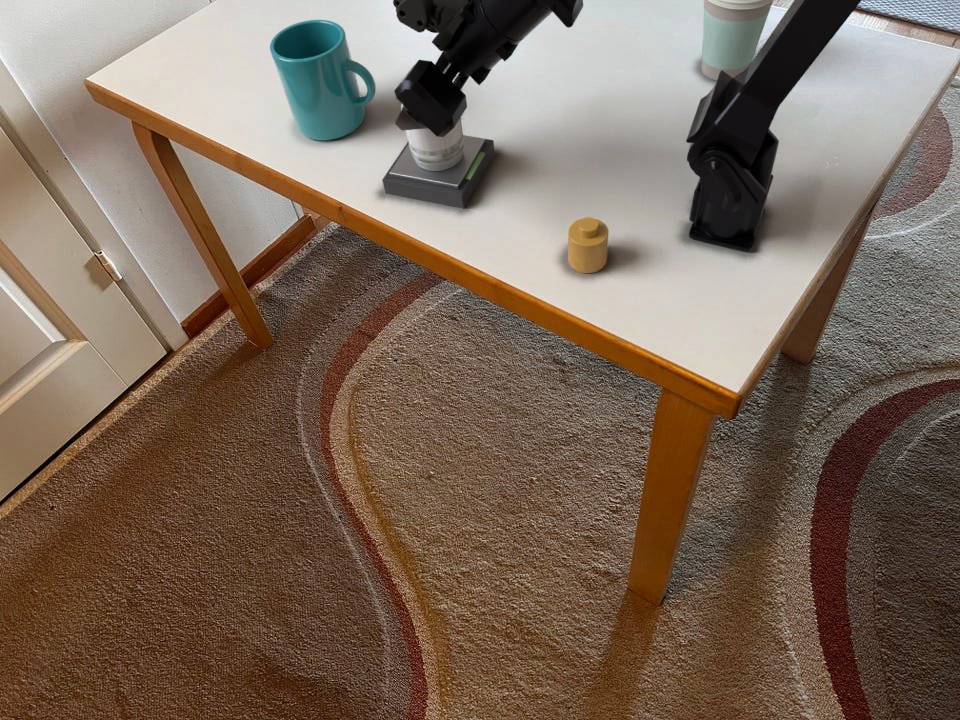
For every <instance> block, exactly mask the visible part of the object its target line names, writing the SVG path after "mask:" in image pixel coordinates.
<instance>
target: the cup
mask: <svg viewBox="0 0 960 720" xmlns="http://www.w3.org/2000/svg"><path fill="white" fill-rule="evenodd" d="M269 52H270V55H271V57H272V60H273V63H274V66H275V69H276V72H277V74H278V77H279V81H280V83H281V86H282V88H283V92H284V94H285V98H286V100H287V103H288V105H289V108H290V111H291V114H292V117H293V120H294V123H295V126H296V129H298V131H299V132H300V133H301V134H302V135H303V136H305V137H306V138H309V139H311V140H316V141H332V140H337V139H340V138H343V137H345V136H347V135H350V134H351V133H352V132H353V133H354V131H356V129H358V128H359V126H360V125H361V124H362V123H363V121H364V119H365V115H366V110H365V109H366V108H365V106H367V105H369V104H370V103H371V102H372V101H373V99H374V98H375V96H376V91H377V85H376V81H375V78H374V76H373V74H372V73H371V71H369V69H368V68H367V67H365V66H364V65H363V64H361V63H359V62H358V61H355V60H353V58H352V53H351V50H350V46H349V42H348V39H347V35H346V32H345V30H344V27H342V26H341V25H340V24H339V23H337V22H335V21H331V20H327V19H309V20H304V21H299V22H295V23H293V24H291V25H289V26H287V27H285V28H283V29H281V30H280V31H278V33H276V34H275V35H274V37H273V38H272V39H271V41H270V43H269ZM358 76H359V77H360V78H361V79H362V80H363V82H364V83H365V87H366V94H364V95H363V96H362V93H361V90H360V86H359V82H358V79H357V77H358Z"/></svg>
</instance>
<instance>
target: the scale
mask: <svg viewBox="0 0 960 720" xmlns="http://www.w3.org/2000/svg"><path fill="white" fill-rule="evenodd" d="M463 136H464V149H463V155H462V158H461V160H460V161H459V162H458V164H456V165H454V166H453V167H451V168H449V169H446V170H442V171H429V170H425V169H423V168H421V167H419V166H418V165H417V163H416V162H415V159H414V158H413V156H412V153H411V150H410V147H409V142H408V141H407V142H406V144H405V145H404V146H403V148H402V150H401V151H400V153H399V154H398V156H396V158H395V159H394V161H393V163H392V164H391V166H390V167H389V168H388V171H386V174H385V175H384V176H383V178H382V179H381V181H382V184H383V185H382V186H383V189H384V192H385V194H388V195H393V196H398V197H404V198H408V199H414V200H417V201H418V200H419V201H423V202H429V203H433V204H439V205H444V206H449V207H453V208H460V209H465V207H466V205H467V204H468V202H469V201H470V198H471V197H472V195H473V194H474V191H475V190H476V188H477V186H478V185H479V183H480V181H481V179H482V178H483V175H484V174H485V172H486V170H487V168H488V167H489V165H490V163H491V161H492V160H493V158H494V156H495V154H496V153H495V141H494V139H488V138H484V137H477V136H473V135H465V134H463Z"/></svg>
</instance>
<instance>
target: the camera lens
mask: <svg viewBox="0 0 960 720" xmlns="http://www.w3.org/2000/svg"><path fill="white" fill-rule="evenodd" d="M403 106H404V105H403V104H402V103H401V105H400V109H401V110H402V108H403ZM401 110H400V111H401ZM463 130H464V129H463V122H462V117H461V118H460V119H459V121H458V122H457V124H456V126H455V127H454V128H453V129H452V130H451V131H450V132H449V133H448V134H446V135H445V136H444V137H437V136H436V135H435V134H434V133H433V132H431V131H430V130H429V129H414V130H405V131H406V132H405V133H406V137H407V142H409V147H410V150H411V153H412V156H413V158H414V159H415V162H416V163H417V165H418V166H419V167H421V168H423V169H425V170H429V171H442V170H446V169H449V168H451V167H453V166H454V165H456V164H458V162H459V161H460V160H461V158H462V155H463V149H464V136H463V135H464V131H463Z"/></svg>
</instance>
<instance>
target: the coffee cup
mask: <svg viewBox="0 0 960 720" xmlns="http://www.w3.org/2000/svg"><path fill="white" fill-rule="evenodd" d="M773 2H774V0H703V16H702V17H703V18H702V38H701V39H702V40H701V41H702V42H701V67H700V68H701V72H702V74H703V75H704V76H705V77H707V78H708V79H711V80H713V81H716V80H717V77H718V75H719V73H720V71H721V70H723V71H724V72H725V73H727V74H728V75H730V76H731V77H732V78H734V77H735V76H737V75H738V74H740V73H741V72H743V71H744V70H745V69H746V68H747V67H748V66H749V65H750V64H751V63H752V61H753V60H754V57H755V53H756V50H757V48H758V45H759V42H760V39H761V36H762V33H763V30H764V28H765V25H766V22H767V19H768V16H769V13H770V11H771V8H772V6H773Z"/></svg>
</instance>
